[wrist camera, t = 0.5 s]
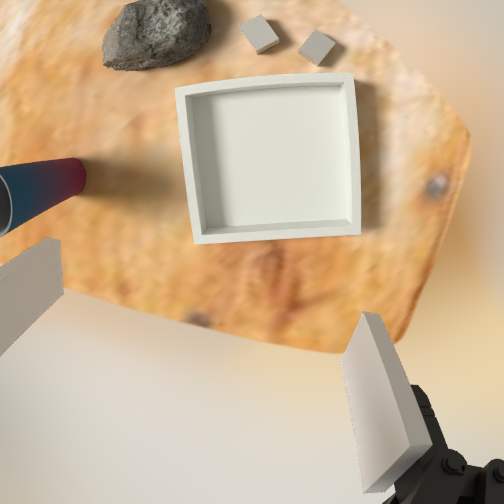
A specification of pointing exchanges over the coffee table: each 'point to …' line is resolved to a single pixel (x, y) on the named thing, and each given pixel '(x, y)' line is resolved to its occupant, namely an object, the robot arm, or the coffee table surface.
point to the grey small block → (259, 34)
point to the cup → (36, 189)
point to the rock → (155, 34)
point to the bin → (271, 157)
